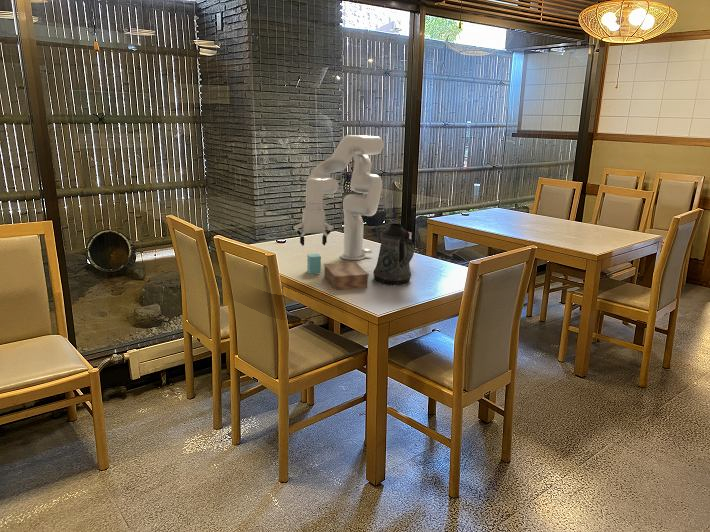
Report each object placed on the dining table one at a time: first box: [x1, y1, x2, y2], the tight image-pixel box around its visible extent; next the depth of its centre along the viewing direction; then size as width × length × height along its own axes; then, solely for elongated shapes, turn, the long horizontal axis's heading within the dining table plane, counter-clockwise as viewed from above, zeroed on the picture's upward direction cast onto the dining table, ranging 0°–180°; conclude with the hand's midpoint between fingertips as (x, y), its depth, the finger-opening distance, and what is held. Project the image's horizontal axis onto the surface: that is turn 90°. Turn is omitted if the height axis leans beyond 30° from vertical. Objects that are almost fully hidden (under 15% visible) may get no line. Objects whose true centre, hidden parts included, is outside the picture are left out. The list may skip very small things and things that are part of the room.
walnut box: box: [323, 261, 370, 290], centre depth 228 cm, size 15×19×6 cm
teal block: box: [306, 253, 322, 275], centre depth 240 cm, size 5×5×8 cm
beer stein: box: [372, 223, 415, 286], centre depth 230 cm, size 16×19×25 cm
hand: (313, 244), depth 237 cm, fingers open, 9 cm apart
